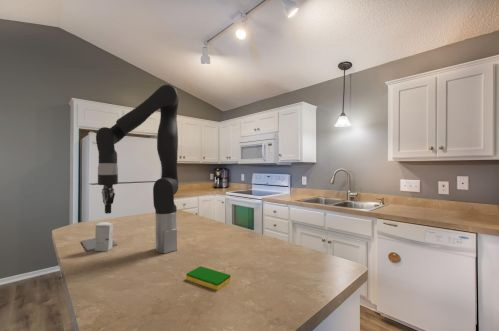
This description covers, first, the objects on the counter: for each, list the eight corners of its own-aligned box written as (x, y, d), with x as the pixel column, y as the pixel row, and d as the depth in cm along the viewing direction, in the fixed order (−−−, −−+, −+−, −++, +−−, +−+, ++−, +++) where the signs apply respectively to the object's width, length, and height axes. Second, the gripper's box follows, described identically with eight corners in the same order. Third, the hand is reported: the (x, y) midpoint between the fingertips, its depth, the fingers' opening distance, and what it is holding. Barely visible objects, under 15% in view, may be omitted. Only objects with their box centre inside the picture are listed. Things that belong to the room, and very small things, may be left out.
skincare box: (94, 251, 105) (94, 225, 104) (99, 246, 110) (99, 221, 109) (108, 251, 106) (109, 225, 105) (113, 247, 110) (113, 222, 110)
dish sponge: (200, 272, 85) (200, 265, 85) (231, 281, 78) (231, 274, 78) (185, 280, 79) (185, 273, 79) (217, 291, 72) (217, 284, 72)
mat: (117, 245, 114) (117, 244, 114) (87, 251, 106) (87, 250, 106) (107, 236, 128) (107, 235, 128) (81, 241, 119) (81, 240, 119)
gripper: (121, 173, 100) (121, 214, 100) (113, 173, 109) (113, 210, 109) (101, 174, 95) (101, 216, 95) (94, 173, 104) (94, 212, 104)
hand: (107, 213), depth 102 cm, fingers closed
